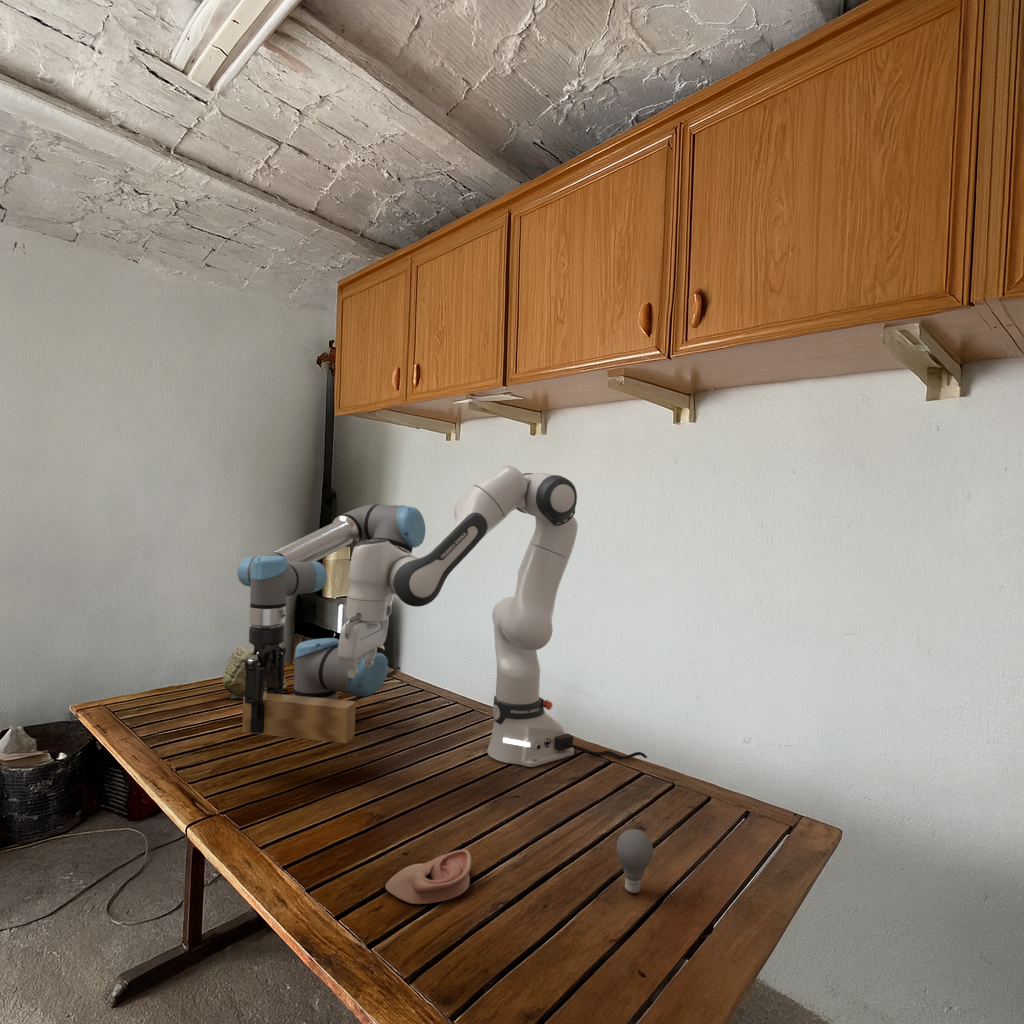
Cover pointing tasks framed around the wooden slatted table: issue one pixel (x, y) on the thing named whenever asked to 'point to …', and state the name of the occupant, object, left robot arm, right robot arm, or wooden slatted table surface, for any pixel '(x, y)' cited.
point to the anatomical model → (432, 879)
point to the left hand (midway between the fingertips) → (263, 727)
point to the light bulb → (634, 857)
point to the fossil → (239, 673)
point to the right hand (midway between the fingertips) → (360, 671)
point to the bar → (305, 718)
